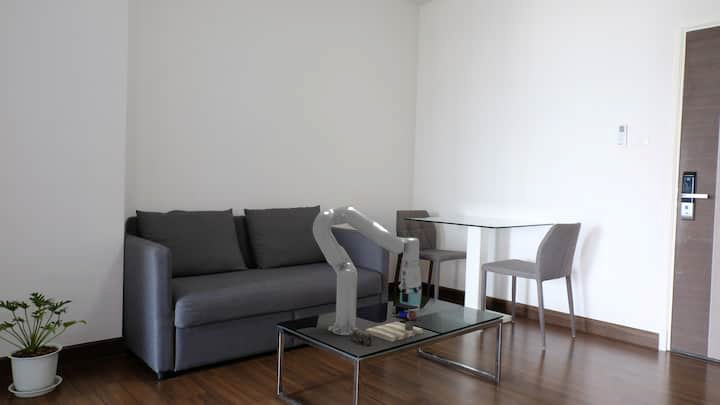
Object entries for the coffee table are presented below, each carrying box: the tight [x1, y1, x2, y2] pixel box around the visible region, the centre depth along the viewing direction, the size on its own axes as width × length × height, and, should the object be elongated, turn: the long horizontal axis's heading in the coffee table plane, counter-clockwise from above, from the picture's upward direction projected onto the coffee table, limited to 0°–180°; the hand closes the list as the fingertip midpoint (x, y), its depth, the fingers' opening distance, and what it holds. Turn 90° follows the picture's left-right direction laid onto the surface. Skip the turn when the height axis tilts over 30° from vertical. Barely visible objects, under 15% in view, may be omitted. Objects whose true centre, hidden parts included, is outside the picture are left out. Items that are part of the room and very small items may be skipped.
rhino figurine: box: [349, 328, 373, 347], centre depth 230 cm, size 4×14×6 cm, turn 43°
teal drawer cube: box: [399, 291, 421, 305], centre depth 245 cm, size 7×7×5 cm
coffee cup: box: [407, 285, 423, 312], centre depth 295 cm, size 9×9×15 cm
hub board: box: [365, 320, 424, 343], centre depth 245 cm, size 22×17×6 cm
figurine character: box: [390, 303, 418, 321], centre depth 275 cm, size 7×8×15 cm
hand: (410, 300), depth 245 cm, fingers closed on teal drawer cube, 6 cm apart
